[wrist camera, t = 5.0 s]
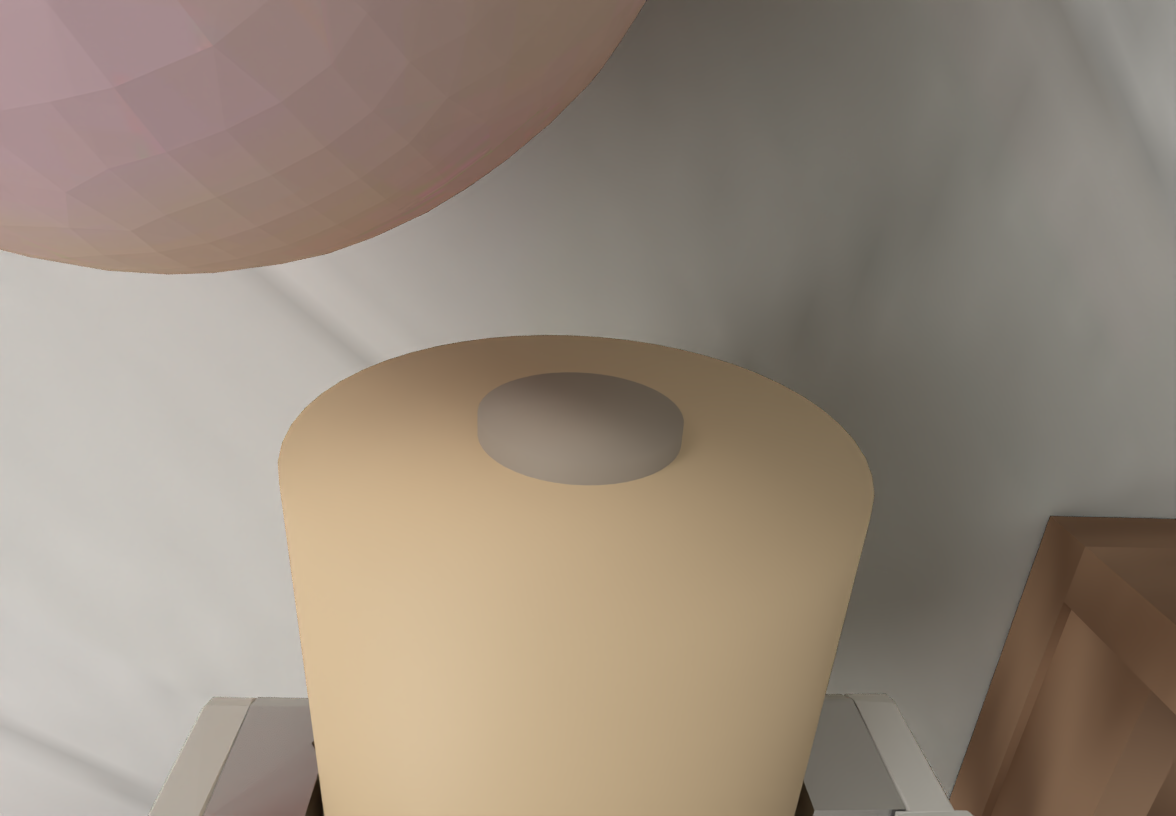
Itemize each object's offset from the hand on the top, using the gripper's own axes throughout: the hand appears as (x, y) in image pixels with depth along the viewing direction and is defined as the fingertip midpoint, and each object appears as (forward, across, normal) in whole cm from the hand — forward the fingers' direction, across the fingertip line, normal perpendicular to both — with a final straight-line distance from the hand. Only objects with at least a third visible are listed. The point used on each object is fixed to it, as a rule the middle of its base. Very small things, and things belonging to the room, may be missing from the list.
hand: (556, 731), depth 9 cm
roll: (+2, 0, 0) cm, 2 cm away
